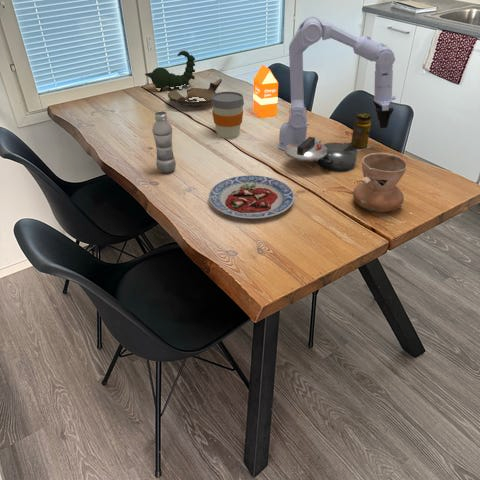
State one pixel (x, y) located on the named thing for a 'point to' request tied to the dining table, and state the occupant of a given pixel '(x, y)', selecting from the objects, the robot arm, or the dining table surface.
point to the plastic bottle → (163, 143)
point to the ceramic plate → (251, 197)
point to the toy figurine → (165, 78)
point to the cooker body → (339, 157)
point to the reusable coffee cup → (227, 113)
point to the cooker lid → (306, 150)
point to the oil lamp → (195, 95)
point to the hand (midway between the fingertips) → (382, 123)
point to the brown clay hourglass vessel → (380, 182)
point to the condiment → (361, 131)
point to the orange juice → (265, 93)
